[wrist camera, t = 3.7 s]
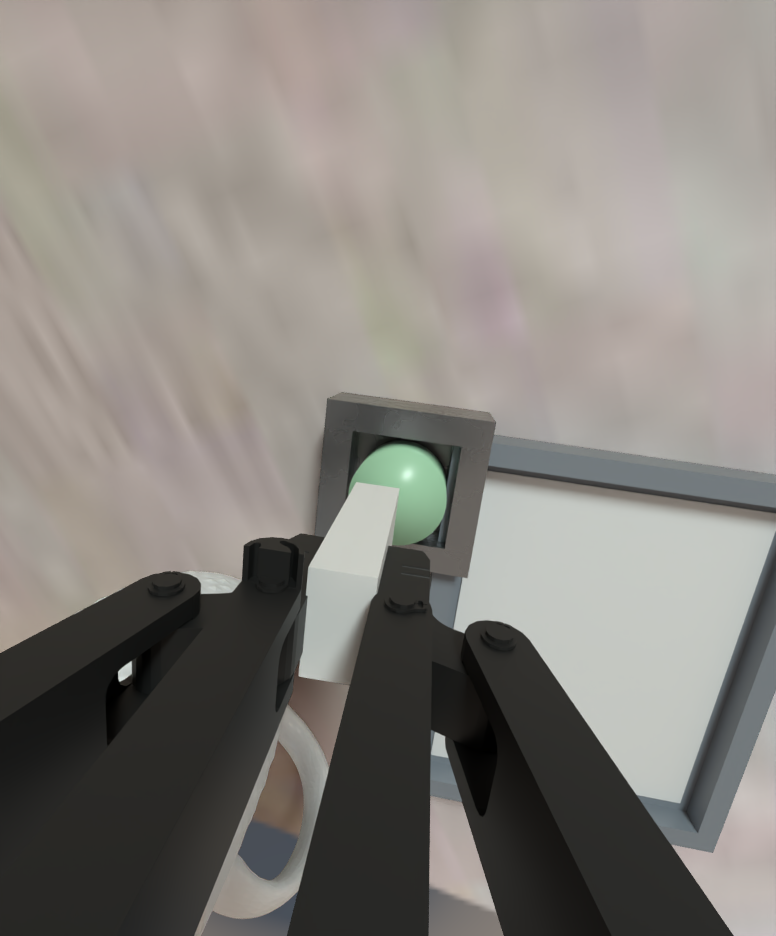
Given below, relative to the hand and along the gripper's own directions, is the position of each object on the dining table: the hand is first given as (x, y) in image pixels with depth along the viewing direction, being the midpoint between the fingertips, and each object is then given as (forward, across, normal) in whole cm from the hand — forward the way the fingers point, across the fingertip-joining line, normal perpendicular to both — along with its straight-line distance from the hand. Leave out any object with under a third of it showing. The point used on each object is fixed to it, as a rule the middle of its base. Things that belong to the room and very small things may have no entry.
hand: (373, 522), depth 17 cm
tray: (+7, +11, -7) cm, 15 cm away
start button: (+5, +1, 0) cm, 5 cm away
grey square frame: (+7, +1, 0) cm, 7 cm away
